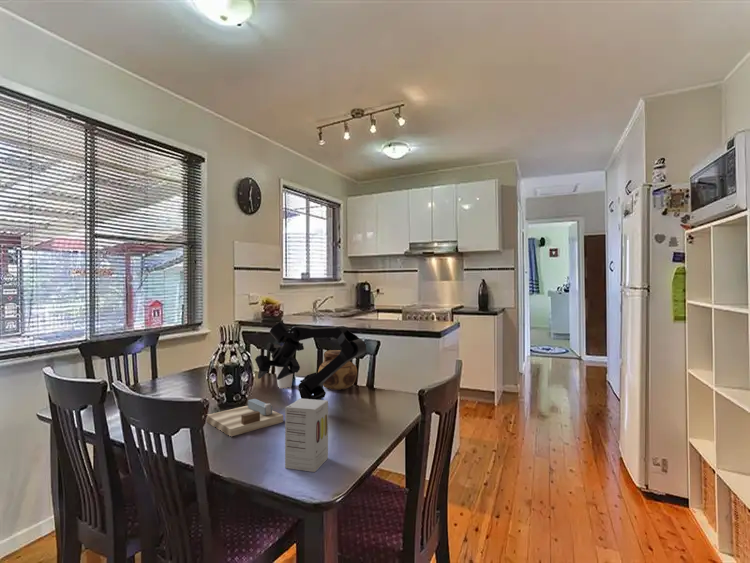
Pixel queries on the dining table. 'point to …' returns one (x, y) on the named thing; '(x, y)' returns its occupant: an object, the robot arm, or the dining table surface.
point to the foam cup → (283, 379)
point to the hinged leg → (260, 406)
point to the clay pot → (339, 372)
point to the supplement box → (306, 434)
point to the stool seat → (232, 420)
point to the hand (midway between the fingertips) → (268, 378)
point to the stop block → (250, 417)
